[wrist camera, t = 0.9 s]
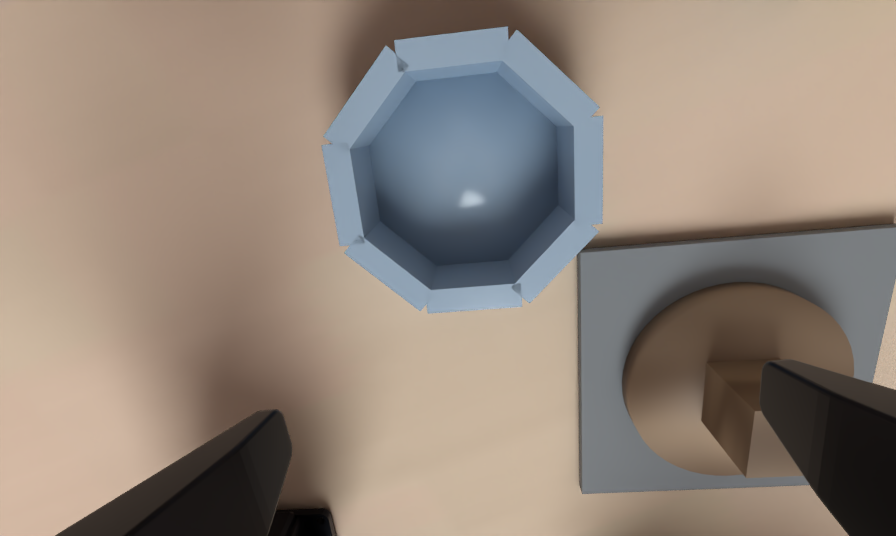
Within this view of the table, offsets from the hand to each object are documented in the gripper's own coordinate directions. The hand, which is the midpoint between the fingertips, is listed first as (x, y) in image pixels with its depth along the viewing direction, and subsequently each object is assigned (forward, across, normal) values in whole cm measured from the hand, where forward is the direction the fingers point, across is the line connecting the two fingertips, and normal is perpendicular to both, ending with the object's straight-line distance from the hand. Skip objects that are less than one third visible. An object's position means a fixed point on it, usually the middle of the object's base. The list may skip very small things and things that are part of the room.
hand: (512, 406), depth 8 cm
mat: (+13, -11, +8) cm, 19 cm away
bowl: (+13, +1, -3) cm, 13 cm away
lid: (+12, -11, +8) cm, 19 cm away
